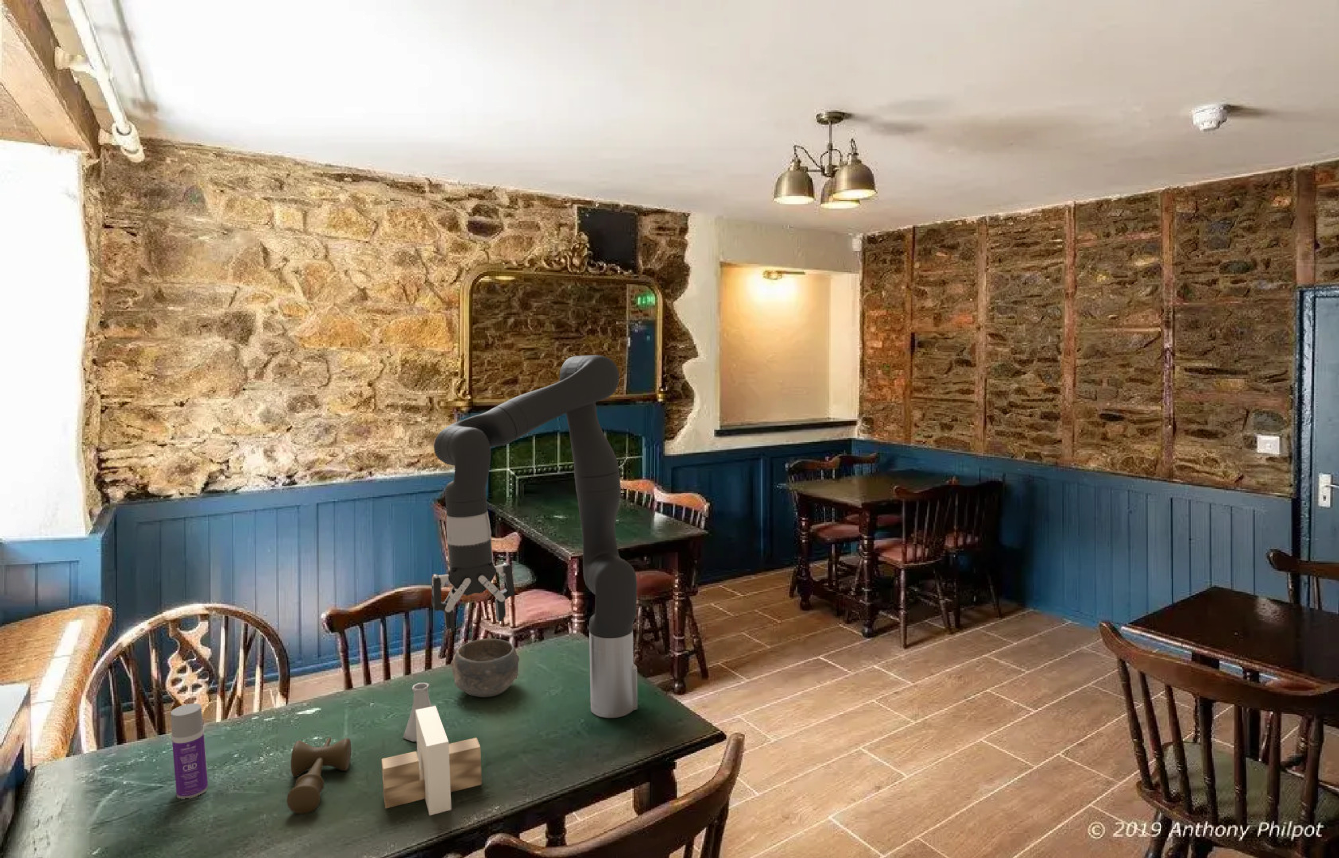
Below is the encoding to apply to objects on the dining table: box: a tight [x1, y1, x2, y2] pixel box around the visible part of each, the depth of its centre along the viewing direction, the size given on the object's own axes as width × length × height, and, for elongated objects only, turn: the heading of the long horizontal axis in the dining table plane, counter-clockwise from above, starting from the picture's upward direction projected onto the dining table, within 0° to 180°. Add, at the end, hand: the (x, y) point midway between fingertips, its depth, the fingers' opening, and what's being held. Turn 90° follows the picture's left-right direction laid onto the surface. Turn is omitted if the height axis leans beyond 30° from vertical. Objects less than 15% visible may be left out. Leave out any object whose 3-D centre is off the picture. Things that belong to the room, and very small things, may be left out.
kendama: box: [286, 737, 352, 814], centre depth 134 cm, size 6×10×20 cm
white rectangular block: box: [415, 705, 452, 816], centre depth 130 cm, size 14×4×12 cm, turn 26°
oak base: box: [381, 737, 482, 809], centre depth 131 cm, size 16×4×7 cm, turn 115°
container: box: [170, 703, 209, 800], centre depth 131 cm, size 5×5×15 cm
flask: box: [402, 682, 433, 743], centre depth 150 cm, size 7×7×10 cm
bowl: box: [450, 638, 520, 698], centre depth 169 cm, size 14×15×10 cm
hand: (476, 625), depth 136 cm, fingers open, 8 cm apart
